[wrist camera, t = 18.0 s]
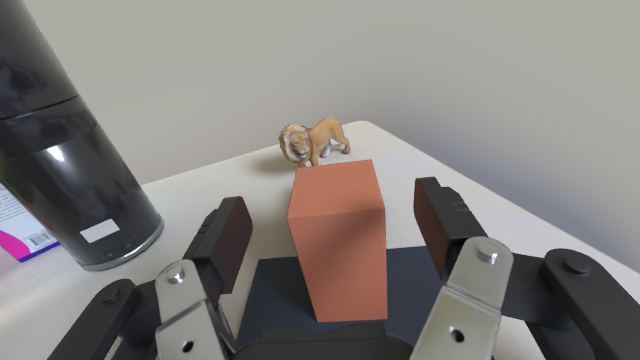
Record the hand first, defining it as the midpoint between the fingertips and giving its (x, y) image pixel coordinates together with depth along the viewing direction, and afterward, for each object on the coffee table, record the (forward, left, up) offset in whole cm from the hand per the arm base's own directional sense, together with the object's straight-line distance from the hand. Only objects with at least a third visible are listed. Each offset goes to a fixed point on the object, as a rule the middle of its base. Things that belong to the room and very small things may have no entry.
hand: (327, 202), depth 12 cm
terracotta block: (-2, +3, -13) cm, 13 cm away
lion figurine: (-19, +18, -13) cm, 29 cm away
